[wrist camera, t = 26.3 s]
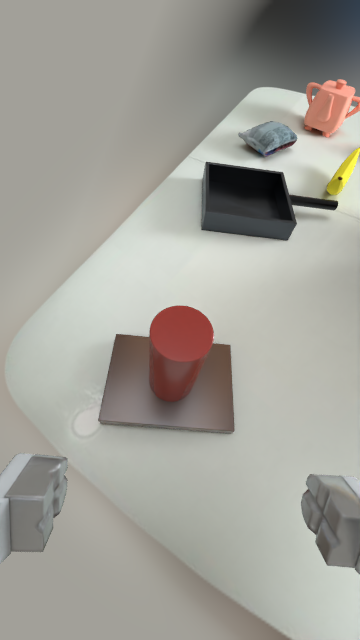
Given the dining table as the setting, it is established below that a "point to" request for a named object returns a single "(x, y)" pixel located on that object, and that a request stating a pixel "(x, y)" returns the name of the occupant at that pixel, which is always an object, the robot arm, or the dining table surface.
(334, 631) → the dining table surface
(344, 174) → the banana
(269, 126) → the packaged food
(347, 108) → the teapot
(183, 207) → the dining table surface
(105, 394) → the walnut board
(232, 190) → the steel pan
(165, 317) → the red cylinder
